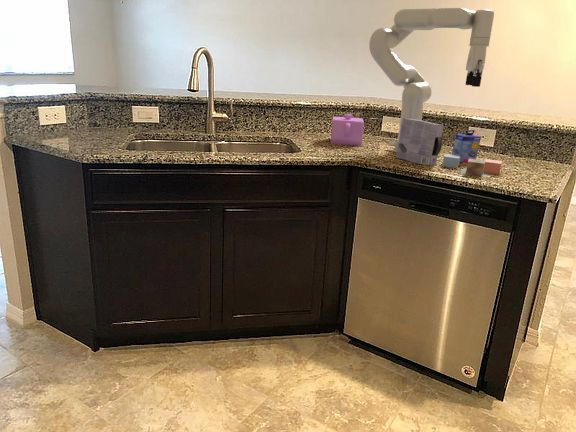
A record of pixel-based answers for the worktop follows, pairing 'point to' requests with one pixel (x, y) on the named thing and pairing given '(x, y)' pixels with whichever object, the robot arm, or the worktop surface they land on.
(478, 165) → the block walnut
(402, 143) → the cake pan box
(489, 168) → the block red
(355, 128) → the teapot
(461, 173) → the baseplate
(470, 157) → the ink cartridge box
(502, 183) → the worktop surface
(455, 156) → the block blue
